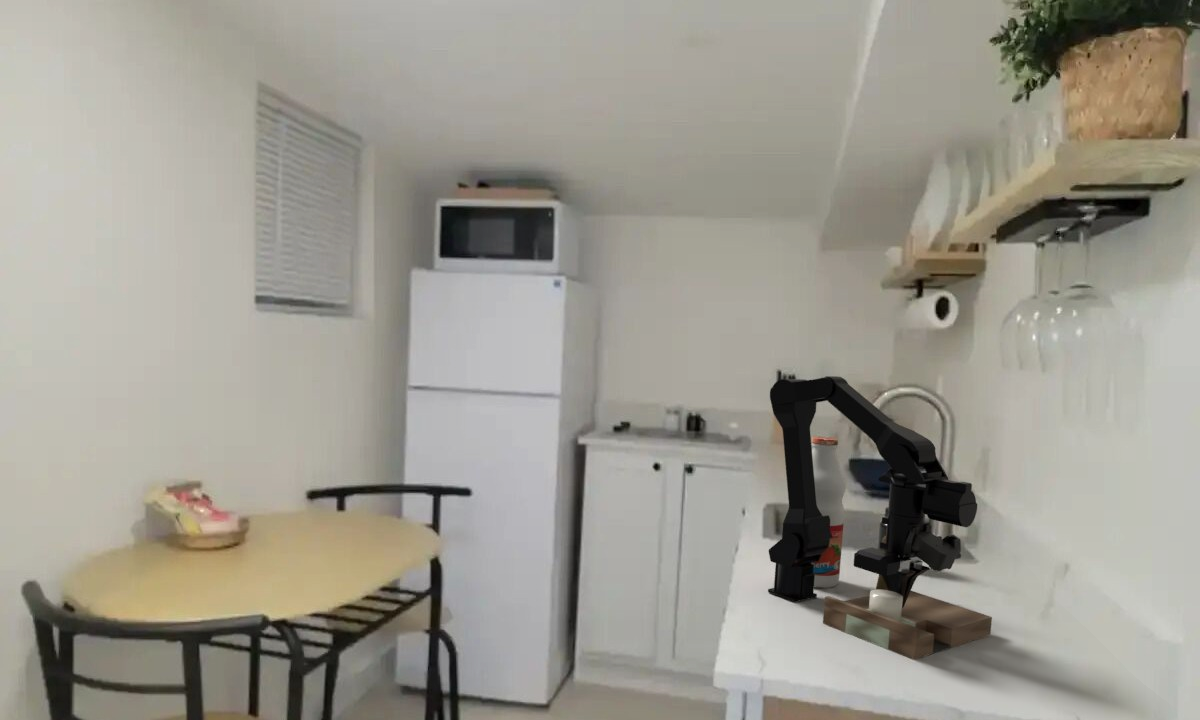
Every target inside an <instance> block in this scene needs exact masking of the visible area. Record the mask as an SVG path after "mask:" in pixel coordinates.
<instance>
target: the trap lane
mask: <svg viewBox="0 0 1200 720" xmlns="http://www.w3.org/2000/svg"><path fill="white" fill-rule="evenodd" d="M869 600H870V594H869V595H864V596H859V597H855V598H851V599H847V600H846V599H845V600H842V599H838V598H836V597H834V596H830V595H826V596H824V602H823V603H824V605H823V617H822V624H824V625H825V626H826V625H827V626H829V627H832V628H834V629H836V630H840V631H841V632H844V633H846V634H848V635H852V636H854V637H857V638H859V639H862V640H864V641H867V642H869V643H871V644H874V645H876V646H879V647H881V648H884V649H886V650H890V651H891V652H893V653H897V654H898V655H901V656H904V657H907V658H909V659H911V660H916V659H920V658H923V657H926V656H928V655H932V654H935V653H938V652H942V651H944V650H947V649H951V648H954V647H957V646H960V645H963V644H966V642H967V643H968V642H969V641H970V642H973V641H975V639H976V640H978V638H979V639H982V638H984V637H985V638H986V637H989V636H991V631H992V619H993V616H990V615H987V614H984V613H982V612H978V611H975V610H973V609H972V610H971V609H969V608H966V607H963V606H959V605H956V604H953V603H951V602H948V601H944V600H941V599H938V598H935V597H933V596H929V595H926V594H924V593H919V592H918V591H917V592H916V591H913V590H911V591H910V593H909V596H908V598H907V600H906V603H905V605H904V607H903V608H902V614H901V622H899V621H897V620H894V619H891V618H888V617H886V616H883V615H880V614H877V613H875V612H872V611H869ZM972 640H973V641H972ZM970 642H969V643H970Z"/></svg>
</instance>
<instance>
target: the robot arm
mask: <svg viewBox="0 0 1200 720" xmlns="http://www.w3.org/2000/svg"><path fill="white" fill-rule="evenodd" d="M769 401H770V404H771V409H772V412H773V416H774V417H775V419H776V420H777V422H778V424H779V426H780V428H781V429H782V440H783V448H784V449H783V451H784V464H785V472H786V473H785V475H786V485H787V486H786V487H787V499H788V508H787V509H788V510H787V513H786V514H785V517H784V518H783V519H784V520H783V522H782V528H781V529H782V531H781V539H780V540H778V541H777V542H776V543H775V544H774V545H772V546H771V547H770V548H769V549H768V555H769V561H770V562H772V563H774V564H775V570H774V571H775V572H774V581H773V582H774V584H773V587H771V588H768V589H767V592H768V593H770V594H772V595H775V596H778V597H780V598H783V599H786V600H787V601H791V602H793V603H795V602H796V603H797V602H801V601H806V600H810V599H814V598H817V597H818V594H817V593H815V592H814V588H815V587H814V578H815V575H814V574H813V569H814V565H813V564H811V563H812V562H818V561H819V560H820V558H821V555H822V553H824V552H825V551H826V549H827V548H828V547H829V544H830V538H833V537H832V534H831V531H830V517H829V516H828V515H827V516H822V514H821V512H820V511H819V509H818V507H817V504H816V493H815V482H814V470H813V458H812V448H813V446H812V445H811V444H812V442H811V441H812V437H811V425H812V422H813V419H814V418H815V415H816V412H817V403H822V402H828V403H829V404H830V405H831V406H833V408H835V409H836V410H837V411H839V413H840V414H841V415H843V416H844V417H846V419H848V420H849V421H850V422H851V423H852V424H854V426H856V427H857V428H858V429H859V430H860V431H861V432H862V433H864V434H865V435H866V436H867V437H868V438H870V440H871V441H872V442H873V443H874V444H875V446H876V448H877V451H878V454H879V455H880V456H881V459H883V460H884V461H885V463H886V464H887V465H888V466H889V467H890V468H888V469H887V471H886V472H884V473H883V474H881V475H880V476H878V478H877V480H878V481H879V482H880V483H886V484H889V496H888V506H887V507H888V516H887V517H885V516H882V517H881V521H882V523H883V524H887V532H886V541H882V542H880V548H882V549H885V550H887V552H886V551H883V550H879V549H877V548H875V547H868V548H861V549H859V550H857V551H856V552H855V553H854V557H853V566H854V568H857V569H861V570H865V571H867V572H871V573H874V574H876V575H878V576H879V575H882V577H883V579H884V581H885V583H886V586H887V588H888V590H889V591H893V592H896V593H899V594H901V595H902V596H903V602H902V608H903V607H904V605H905V603H906V600H907V598H908V596H909V593H910V591H912V588H913V586H914V584H915V582H916V580H917V578H918V577H919V576H921V575H922V574H924V573H926V572H928V571H930V569H931V570H933V571H936V572H942V571H943V570H951V569H952V567H953V565H954V563H955V561H956V560H958V559H961V557H962V554H961V552H962V547H961V538H959V537H958V536H956V535H954V534H949V535H946V536H945V537H943V536H942V535H938V536H937V535H935V534H934V533H932V524H931V522H930V521H928V520H926V517H928V519H929V520H931V521H936V522H937V521H938V522H940V523H941V522H942V523H945V524H950V525H954V526H958V527H963V528H969V527H970V526H971V525H972V524H973V522H974V521H975V519H976V515H977V510H978V503H977V502H976V501H977V498H976V495H975V493H974V492H973V491H972V490H973V488H972V487H973V485H972V483H971V482H967V481H966V482H965V481H955V480H950V479H949V476H948V475H947V473H946V471H945V470H944V468H943V465H941V463H940V461H939V458H938V457H937V453H936V447H935V445H934V443H933V441H931V440H930V439H928V438H927V437H925V436H924V435H922V434H920V433H919V432H916V431H915V430H913V429H912V428H911V429H910V428H908V427H906V426H903V425H901V424H898V423H897V422H896V421H893V420H892V419H891V418H889V416H888V415H886V414H885V412H882V411H881V410H880V408H878V407H877V406H875V405H874V404H873V403H872V402H870V400H868V399H866V397H865V396H863V395H862V394H861V393H860V392H858V391H857V390H856V389H855V388H853V386H851V385H850V384H849V382H848V381H847V380H846V379H845V378H843V377H841V376H838V375H837V376H836V375H835V376H833V375H831V376H829V375H827V376H826V375H824V376H823V377H819V378H815V379H814V378H813V379H802V378H801V379H800V378H799V379H796V378H795V379H791V378H790V379H789V378H787V379H786V378H785V379H784V378H783V379H782V378H781V379H778V380H777V381H775V382H774V384H773V385H772V387H771V388H770V389H769ZM923 562H924V563H925V564H926V565H928V566H926V565H923Z"/></svg>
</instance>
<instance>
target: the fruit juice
mask: <svg viewBox="0 0 1200 720" xmlns="http://www.w3.org/2000/svg"><path fill="white" fill-rule="evenodd" d="M838 443H839V441H838V438H835V437H830V436H819V435H818V436H817V435H816V436H813V437H811V447H812V458H813V470H814V482H815V493H816V504H817V507H818V509H819V511H820V512H821V514H822V516H827V515H828V516H829V517H830V531H831V534H832V537H833V538H830V544H829V547H828V548H827V549H826V551H825V552H824V553H822V555H821V558H820V560H819V561H818V562H812V563H811V564H813V565H814V569H813V574H814V575H815V578H814V588H818V589H819V588H821V589H822V588H823V589H824V588H825V589H826V588H833V587H836V586H837V585H838V584H839V580H840V574H841V573H840V572H841V560H842V549H843V548H842V546H843V536H844V523H845V508H844V505H843V497H844V496H845V495H844V494H845V492H846V487H847V486H846V485H847V483H846V482H847V481H846V479H845V477H844V475H843V472H842V470H841V466H840V463H839V459H838V456H837V453H836V452H837V451H836V449H838Z"/></svg>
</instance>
